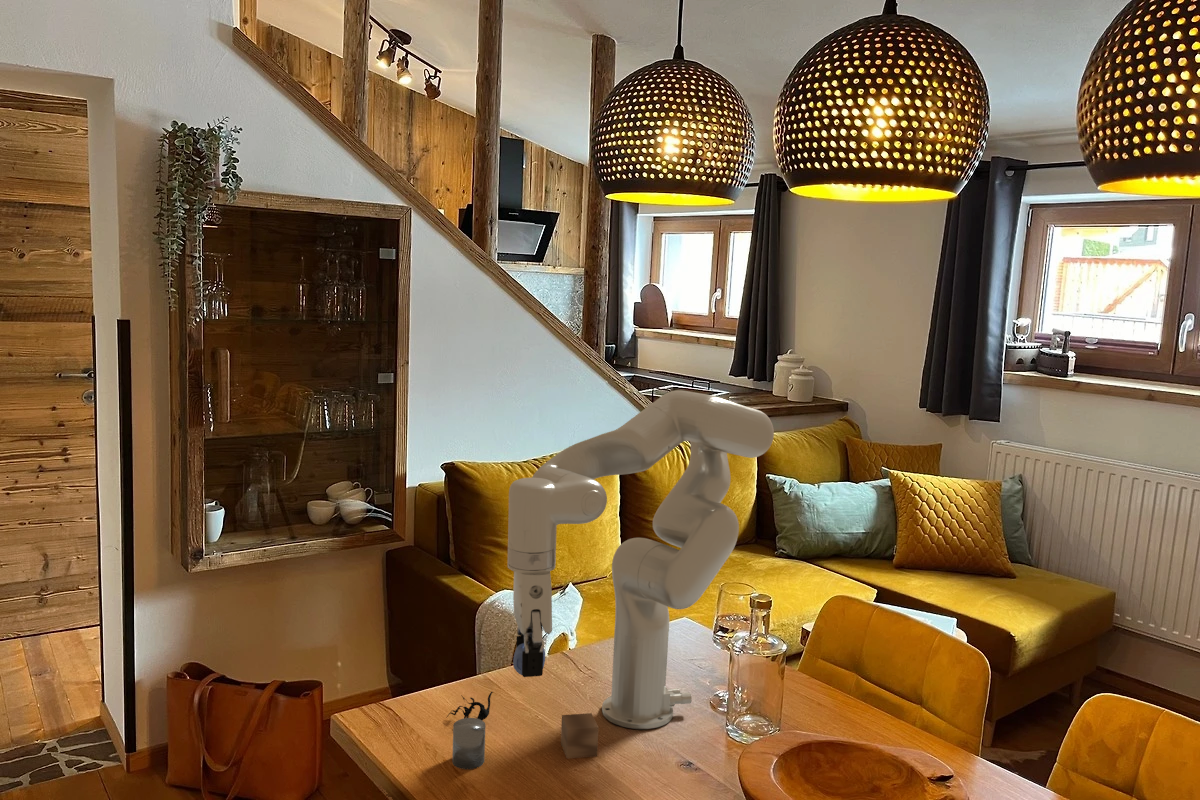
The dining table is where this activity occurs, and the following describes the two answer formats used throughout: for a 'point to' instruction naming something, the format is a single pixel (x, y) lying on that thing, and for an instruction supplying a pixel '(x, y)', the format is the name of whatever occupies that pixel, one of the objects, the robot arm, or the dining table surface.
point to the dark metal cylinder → (468, 743)
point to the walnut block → (579, 735)
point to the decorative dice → (518, 658)
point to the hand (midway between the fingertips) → (529, 666)
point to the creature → (482, 713)
